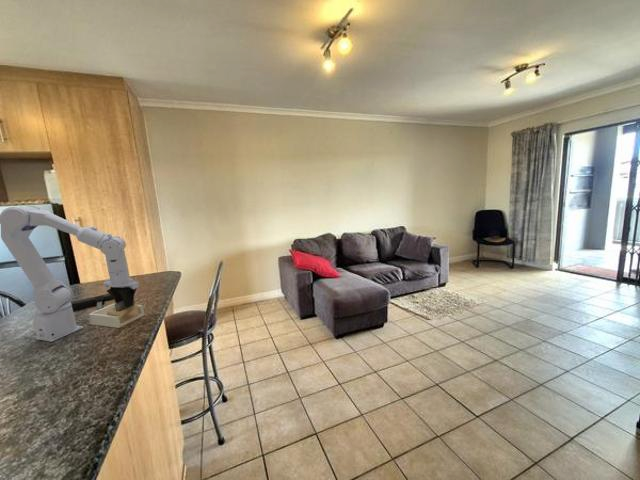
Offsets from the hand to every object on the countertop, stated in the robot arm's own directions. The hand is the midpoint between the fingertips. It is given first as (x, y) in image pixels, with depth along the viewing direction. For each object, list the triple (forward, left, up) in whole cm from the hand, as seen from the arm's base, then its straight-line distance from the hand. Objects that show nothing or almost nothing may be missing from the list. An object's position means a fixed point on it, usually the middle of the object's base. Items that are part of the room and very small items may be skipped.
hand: (125, 305), depth 99 cm
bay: (0, +5, -6) cm, 8 cm away
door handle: (+7, +30, -7) cm, 32 cm away
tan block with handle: (0, +2, -5) cm, 5 cm away
